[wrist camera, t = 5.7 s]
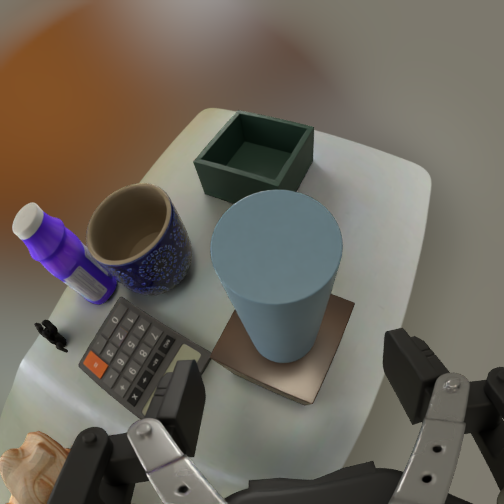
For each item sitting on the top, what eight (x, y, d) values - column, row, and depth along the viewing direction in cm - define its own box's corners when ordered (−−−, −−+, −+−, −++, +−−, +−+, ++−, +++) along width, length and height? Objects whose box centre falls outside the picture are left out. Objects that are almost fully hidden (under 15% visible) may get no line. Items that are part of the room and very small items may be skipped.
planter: (199, 300, 38) (168, 259, 28) (123, 306, 39) (76, 270, 29) (199, 227, 44) (175, 174, 34) (131, 238, 44) (95, 191, 35)
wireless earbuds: (46, 333, 38) (25, 323, 34) (53, 320, 39) (33, 308, 35) (73, 357, 36) (51, 348, 32) (81, 342, 37) (59, 332, 32)
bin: (243, 141, 51) (237, 110, 45) (313, 160, 47) (314, 126, 41) (204, 193, 47) (193, 161, 40) (280, 219, 43) (278, 186, 37)
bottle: (76, 286, 41) (0, 223, 26) (99, 258, 43) (31, 187, 28) (101, 314, 39) (17, 254, 24) (126, 283, 41) (52, 211, 25)
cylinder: (300, 291, 26) (306, 174, 13) (326, 347, 23) (367, 270, 11) (242, 314, 25) (195, 214, 13) (265, 373, 23) (234, 326, 11)
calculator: (120, 295, 39) (211, 352, 34) (123, 297, 39) (213, 354, 35) (76, 365, 34) (161, 435, 29) (80, 366, 35) (164, 434, 30)
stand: (267, 306, 37) (258, 265, 27) (337, 334, 34) (355, 302, 25) (232, 373, 33) (208, 357, 24) (305, 405, 31) (312, 404, 21)
